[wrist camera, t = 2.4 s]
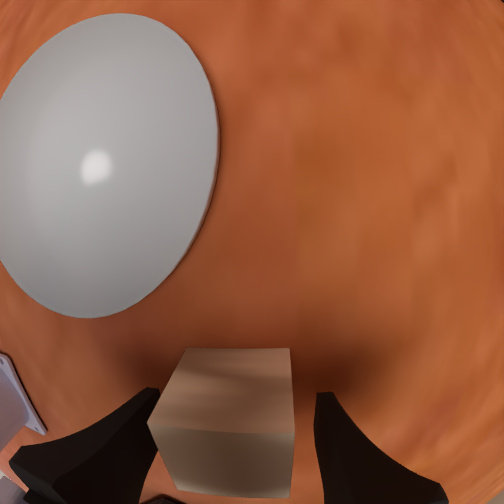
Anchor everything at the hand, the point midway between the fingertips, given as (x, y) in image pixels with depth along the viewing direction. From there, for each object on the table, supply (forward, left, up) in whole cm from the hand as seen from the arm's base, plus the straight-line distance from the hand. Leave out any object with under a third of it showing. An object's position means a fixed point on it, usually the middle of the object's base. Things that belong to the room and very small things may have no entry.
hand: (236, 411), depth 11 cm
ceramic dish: (-7, +11, -2) cm, 13 cm away
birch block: (0, 0, -2) cm, 2 cm away
